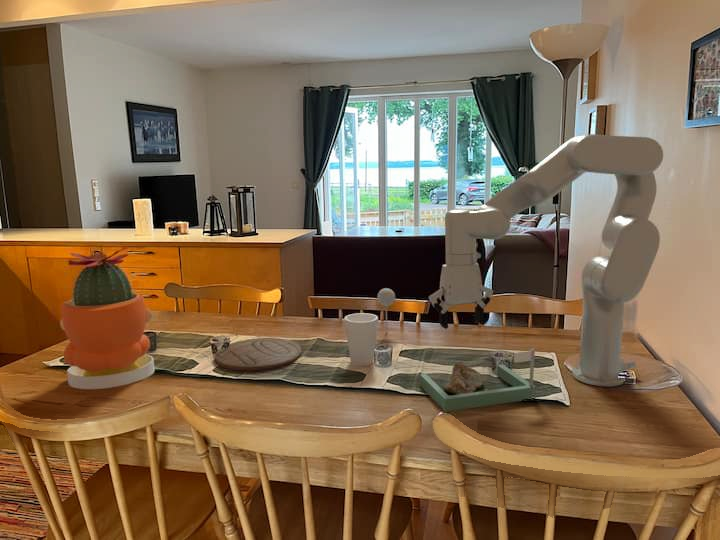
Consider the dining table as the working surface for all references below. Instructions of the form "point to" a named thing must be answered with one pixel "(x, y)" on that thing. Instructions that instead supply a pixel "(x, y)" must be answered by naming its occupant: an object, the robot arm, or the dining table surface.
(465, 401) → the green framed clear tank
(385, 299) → the lollipop
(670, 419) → the dining table surface
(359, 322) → the foam cup
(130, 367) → the potted cactus
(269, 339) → the trivet
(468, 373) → the decorative stone
